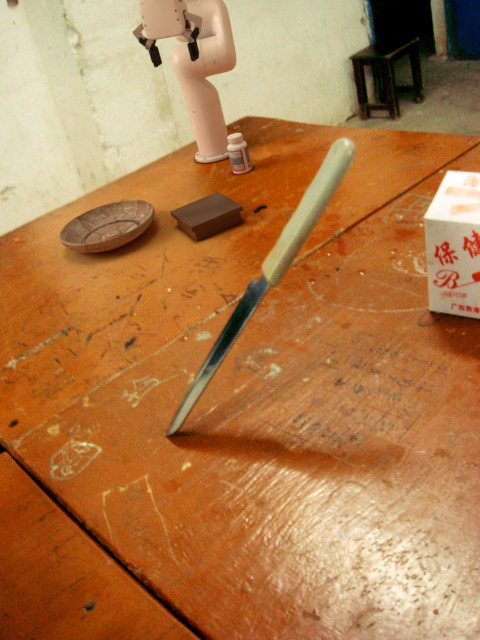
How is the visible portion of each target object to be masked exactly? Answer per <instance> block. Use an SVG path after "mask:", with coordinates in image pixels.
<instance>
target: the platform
mask: <svg viewBox="0 0 480 640" xmlns="http://www.w3.org/2000/svg"><path fill="white" fill-rule="evenodd" d="M241 212H244V207H243V205H241V204H240V203H238V202H236V201H235V200H234V199H231V198H230V197H228V196H227V195H225V194H223V193H221V192H220V191H215V192H213V193H211V194H208V195H206V196H204V197H202V198H199V199H197V200H194V201H191V202H189V203H186V204H185V205H182V206H179V207H177V208H175V209H173V210H170V211H169V214H170V216H171V217H172V218H173V219H174V220H175V221H176V224H177V227H178V228H180V229H181V230H182V231H183V232H184V233H186V234H187V235H189V237H191V238H192V239H194V240H195V241H196V242H199V241H201V240H205V239H207V238H208V237H211V236H214V235H215V234H219V233H220V232H223V231H224V230H226V229H229V228H232V227H234V226H236V225H238V224H241V223H243V220H242V215H241Z"/></svg>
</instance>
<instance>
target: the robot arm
mask: <svg viewBox="0 0 480 640" xmlns="http://www.w3.org/2000/svg"><path fill="white" fill-rule="evenodd" d="M138 7H139V8H138V9H139V14H140V19H141V22H140V23H139V24H138V25H137V26H136V27H135V28H134V29H133V30H132V34H133V36H134V37H135V38H136V40H137V41H138V43H139V44H140V45H142V46H143V47H144V48H145V50H147V51H148V54H149V58H150V61H151V63H152V64H153V67H154V68H158V67H159V66H161V65H162V64H163V61H162V57H161V53H160V49H159V46H158V45H156V44H157V41H158V40H162V39H163V40H164V39H168V38H175V40H177V42H181V44H178V45H177V46H175V47H174V49H173V50H172V51H171V54H170V62H171V65H172V69H173V71H174V73H175V76H176V78H177V80H178V82H179V86H180V88H181V91H182V94H183V97H184V102H185V105H186V109H187V112H188V116H189V120H190V123H191V127H192V132H193V135H194V140H195V142H196V147H197V150H198V151H197V152H196V153H195V154H194V159H195V161H196V162H197V163H200V164H208V163H209V164H210V163H215V162H220V161H223V160H225V159H228V158H229V154H228V150H227V146H228V145H229V144H230V143H228V139H227V137H228V136H229V132H228V128H227V123H226V120H225V116H224V111H223V107H222V103H221V98H220V95H219V91H218V89H217V87H215V85H214V84H213V83H212V82H211V81H209V79H207V78H209V77H213V76H216V75H220V74H225V73H228V72H231V71H233V70H234V69H235V68H236V66H237V52H236V51H237V50H236V46H235V39H234V35H233V29H232V24H231V19H230V18H231V17H230V14H229V10H228V7H227V5H226V3H225V1H224V0H138ZM143 32H144V33H145V36H144V34H143Z"/></svg>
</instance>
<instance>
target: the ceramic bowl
mask: <svg viewBox="0 0 480 640" xmlns="http://www.w3.org/2000/svg"><path fill="white" fill-rule="evenodd" d="M155 215H156V210H155V207H154V206H153V204H152V203H151V202H150V201H146V200H142V199H125V200H119V201H114V202H109V203H105V204H103V205H99V206H96V207H94V208H91V209H89V210H87V211H85V212H83V213H80V214H79V215H77V216H75V217H74V218H72V219H71V220H70V221H68V222H67V223H66V224H64V226H63V227H62V228H61V230H60V231H59V234H58V239H59V241H60V243H61V244H62V245H63V246H64V247H66V248H67V249H69V250H70V251H72V252H73V251H74V252H77V253H85V254H94V253H96V254H97V253H103V252H108V251H112V250H115V249H118V248H120V247H121V248H122V246H125V245H127V244H129V243H131V242H132V241H135V239H137V238H138V237H139V236H141V235H142V234H143V233H144V232H146V231H147V229H148V228H149V227H150V226H151V224H152V223H153V221H154V219H155Z"/></svg>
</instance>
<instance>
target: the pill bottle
mask: <svg viewBox="0 0 480 640" xmlns="http://www.w3.org/2000/svg"><path fill="white" fill-rule="evenodd" d="M227 139H228V143H230V144H229V145H228V146H227V150H228V154H229V157H228V158H229V163H230V166H231V170H232V172H233V174H235V175H241V174H247V173H248V172H250V171H251V170H252V169H253V165H252V161H251V157H250V152H249V146H248V143H247V141H245V140H244V137H243V134H242V133H241V132H233V133H232V134H228V137H227Z"/></svg>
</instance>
